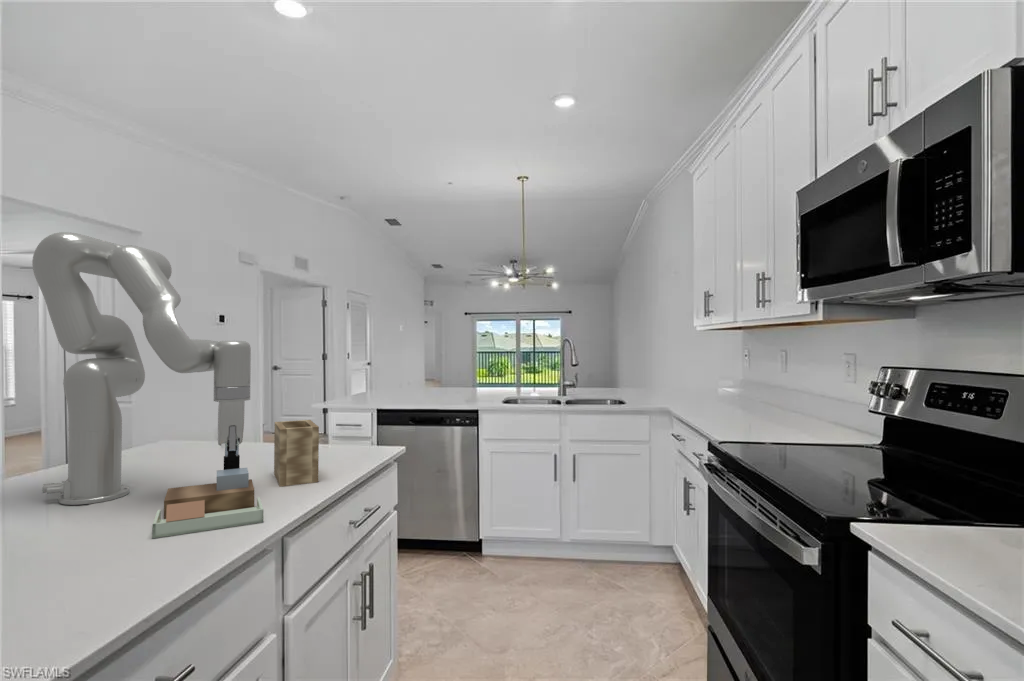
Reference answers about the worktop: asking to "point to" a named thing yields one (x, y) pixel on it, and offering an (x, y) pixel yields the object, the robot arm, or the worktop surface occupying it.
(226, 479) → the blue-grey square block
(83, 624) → the worktop surface
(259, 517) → the tray
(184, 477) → the worktop surface
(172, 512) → the terracotta tile
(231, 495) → the walnut board
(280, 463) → the utensil caddy
